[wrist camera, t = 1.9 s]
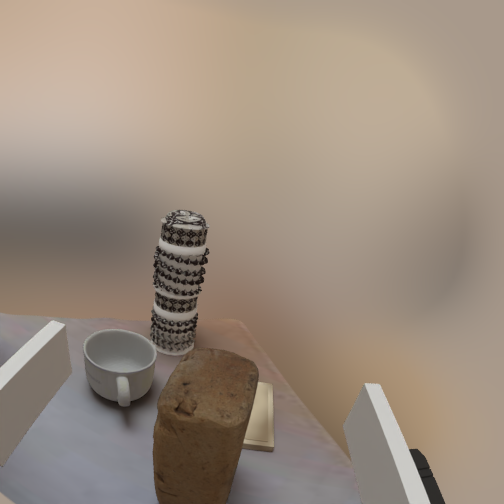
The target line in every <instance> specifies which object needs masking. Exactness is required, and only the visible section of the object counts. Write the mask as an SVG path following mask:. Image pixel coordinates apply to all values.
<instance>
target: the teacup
mask: <svg viewBox="0 0 504 504" xmlns="http://www.w3.org/2000/svg"><path fill="white" fill-rule="evenodd" d="M83 352H84V361H85V370H86V376H87V379H88V382H89V384H90V386H91V387H92V388H93V390H94V391H95V392H97V393H98V394H99V395H101V396H102V397H104V398H106V399H109V400H113V401H118V403H119V405H120V406H124V407H125V406H129V405H130V401H133V400H136V399H138V398H140V397H142V396H143V395H145V394H146V393H147V392H148V390H149V389H150V387H151V384H152V381H153V375H154V368H155V360H156V357H157V352H156V349H155V347H154V345H153V344H152V343H151V342H150V341H149V340H148V339H147V338H145V337H144V336H142V335H139V334H137V333H134V332H131V331H127V330H122V329H106V330H101V331H98V332H95V333H93V334H91V335H90V336H89V337H88V338H87V339H86V340H85V342H84V344H83Z"/></svg>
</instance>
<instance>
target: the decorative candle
mask: <svg viewBox="0 0 504 504" xmlns="http://www.w3.org/2000/svg"><path fill="white" fill-rule="evenodd" d="M161 221H162V222H163V226H162V234H161V237H160V240H159V246H157V247H156V252H155V255H154V258H155V259H156V260H155V263H154V264H153V266H154V267H155V272H154V275H153V278H154V281H155V282H153V284H154V289H155V290H156V295H155V296H156V298H155V300H154V307H153V310H152V311H151V312H152V314H153V315H152V316H153V317H152V318H151V320H152V325H151V327H150V328H151V333H150V336H151V341H150V342H151V343H152V344H153V345H154V347H155V349H156V350H157V351H158V352H160V353H162V354H165V355H170V356H180V355H185V354H186V353H187V352H188V351H190V350H192V349H193V348H194V342H195V340H194V339H193V338H195V335H196V333H195V331H196V329H195V327H196V326H197V325H196V323H197V321H196V320H197V319H198V317H197V316H198V313H197V298H198V295H199V294H200V293H201V291H202V290H201V287H200V286H199V284H201V283H203V282H204V278H203V277H202V275H203V274H205V269H204V268H203V267H201V265H204V264H206V263H208V260H207V258H206V257H205V256H206V255H208V254H209V249H207V248H206V235H207V230H208V228H209V224H207V223H206V221H205V219H204V217H203V216H202V215H201V214H198V213H196V212H192V211H185V210H174V211H170V212H169V213H168V214H167V216H166V217H164V218H162V219H161ZM159 247H160V248H159ZM203 253H204V255H203ZM159 254H160V257H159ZM157 264H159V266H157ZM199 279H200V280H199Z"/></svg>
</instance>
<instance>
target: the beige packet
mask: <svg viewBox="0 0 504 504" xmlns="http://www.w3.org/2000/svg"><path fill="white" fill-rule="evenodd" d="M242 448H245V449H252V450H260V451H269V452H272V450H273V448H274V423H273V384H269V383H262V382H258V386H257V390H256V395H255V399H254V404H253V408H252V412H251V416H250V420H249V424H248V427H247V431H246V434H245V438H244V442H243V446H242Z"/></svg>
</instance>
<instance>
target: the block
mask: <svg viewBox="0 0 504 504" xmlns="http://www.w3.org/2000/svg"><path fill="white" fill-rule="evenodd" d="M258 376H259V374H258V368H257V366H256V364H255V363H254V362H253V361H251V360H249V359H246V358H244V357H241V356H239V355H237V354H235V353H233V352H229V351H225V350H218V349H210V348H196V349H193V350H190V351H188V352H187V353H186V354H185V355H184V356H183V358H182V359H181V361H180V362H179V364H178V365H177V366H176V368H175V370H174V371H173V373H172V374H171V376H170V377H169V380H168V382H167V384H166V386H165V387H164V389H163V390H162V392H161V394H160V397H159V399H158V403H157V408H158V415H157V420H156V423H155V426H154V434H153V438H154V444H153V465H154V481H155V490H156V495H157V498H158V501H159V504H226V501H227V498H228V496H229V493H230V489H231V486H232V482H233V478H234V475H235V472H236V468H237V465H238V461H239V457H240V454H241V450H242V446H243V442H244V438H245V434H246V431H247V427H248V424H249V420H250V416H251V412H252V408H253V404H254V399H255V395H256V390H257V386H258Z"/></svg>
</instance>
